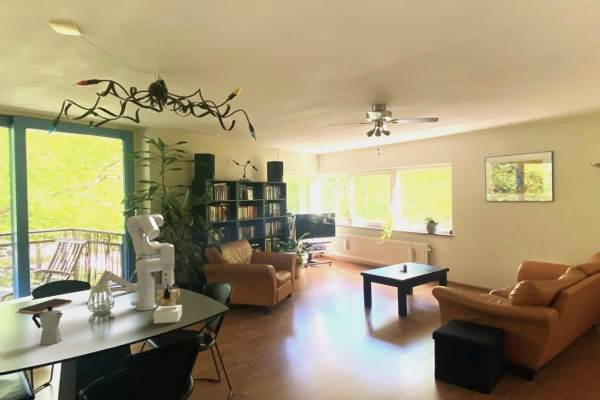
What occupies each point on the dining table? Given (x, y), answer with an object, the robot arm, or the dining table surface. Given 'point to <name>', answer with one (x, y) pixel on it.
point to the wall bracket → (110, 276)
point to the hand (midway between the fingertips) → (168, 296)
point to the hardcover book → (45, 305)
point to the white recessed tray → (168, 314)
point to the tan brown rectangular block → (168, 302)
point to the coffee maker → (49, 326)
